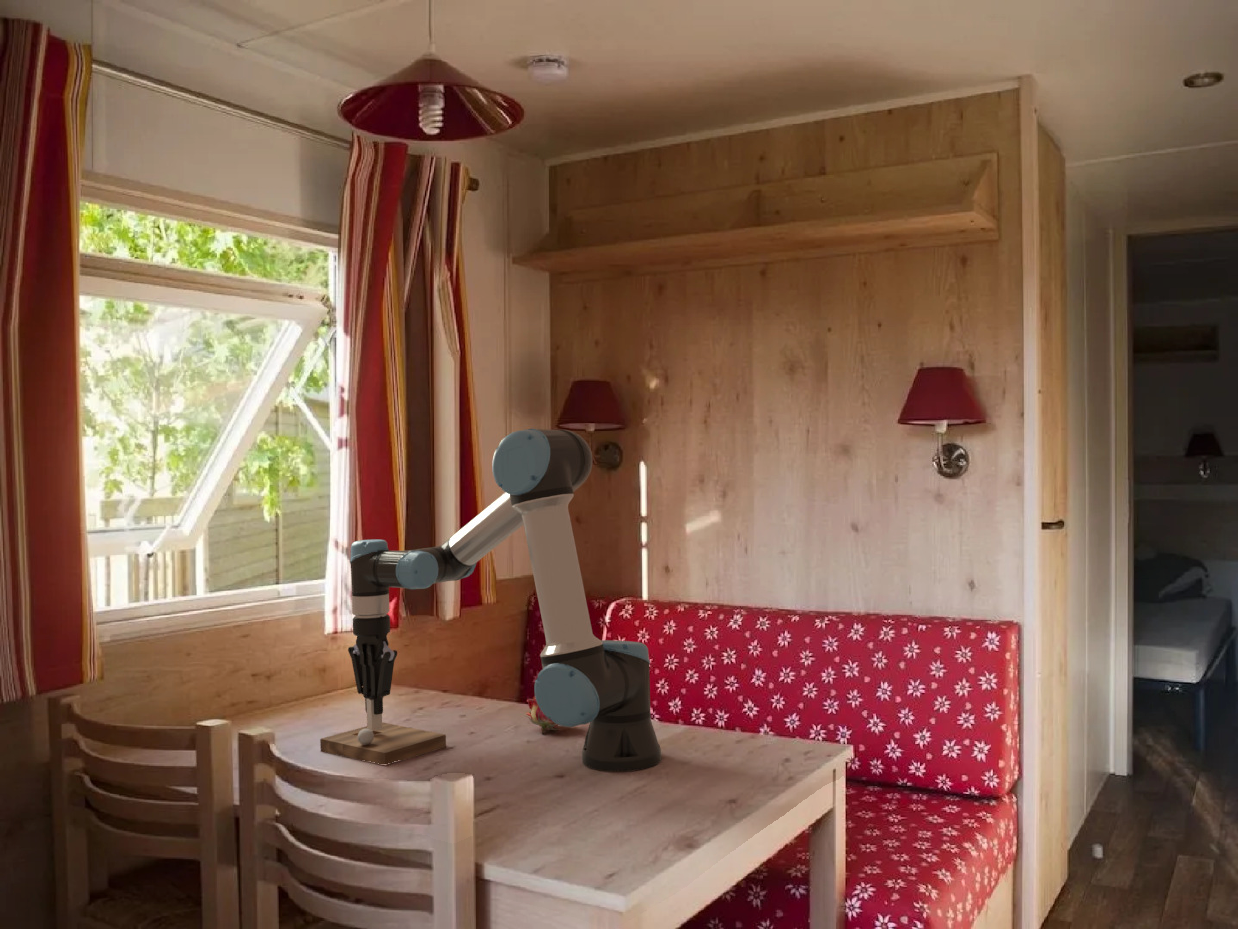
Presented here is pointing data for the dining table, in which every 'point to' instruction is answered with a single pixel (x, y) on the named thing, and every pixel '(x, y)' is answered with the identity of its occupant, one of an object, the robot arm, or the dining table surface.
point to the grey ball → (365, 736)
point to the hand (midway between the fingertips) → (374, 729)
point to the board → (384, 744)
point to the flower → (539, 716)
